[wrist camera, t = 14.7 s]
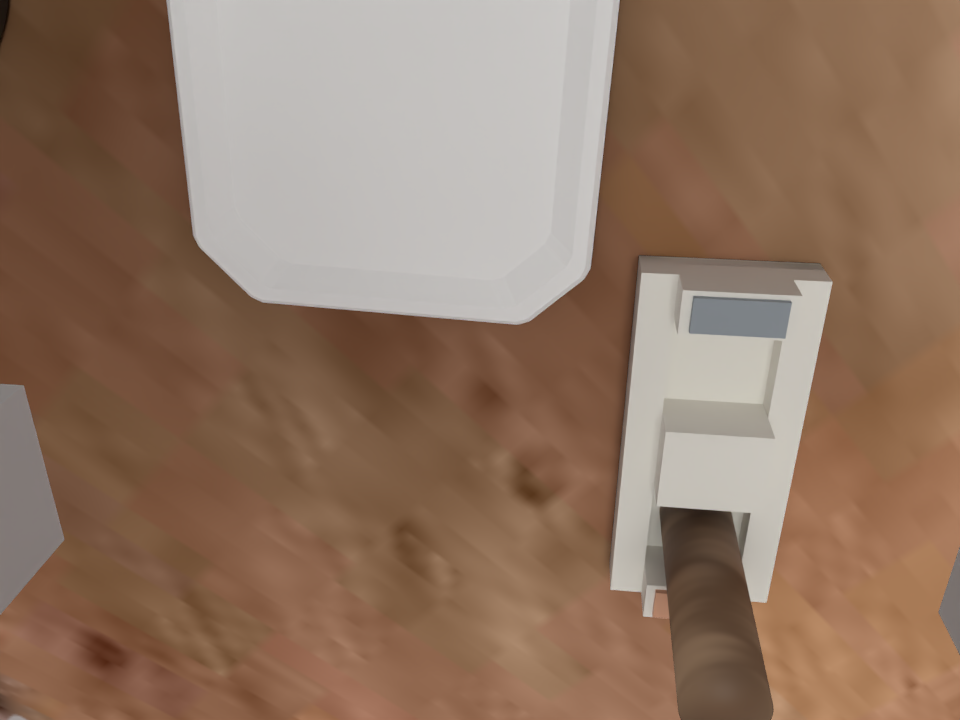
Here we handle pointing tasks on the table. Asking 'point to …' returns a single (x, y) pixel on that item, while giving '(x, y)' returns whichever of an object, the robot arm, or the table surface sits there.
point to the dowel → (711, 619)
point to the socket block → (713, 407)
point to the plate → (396, 149)
